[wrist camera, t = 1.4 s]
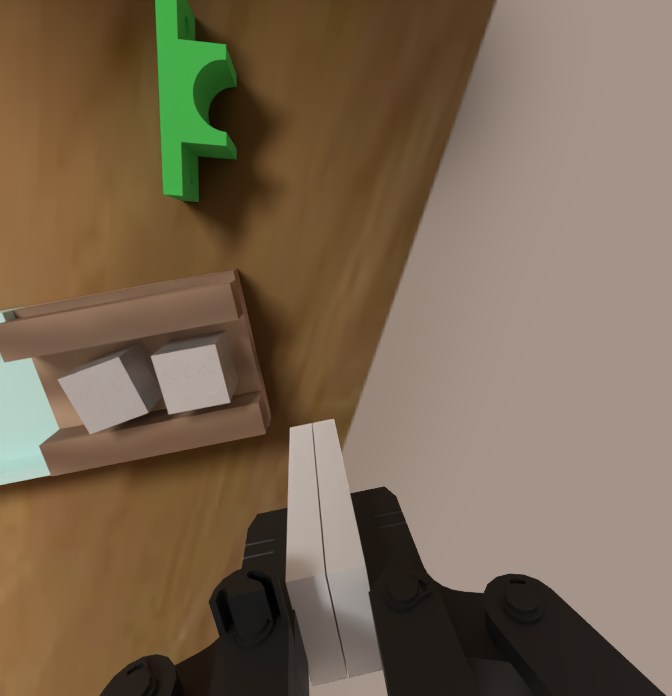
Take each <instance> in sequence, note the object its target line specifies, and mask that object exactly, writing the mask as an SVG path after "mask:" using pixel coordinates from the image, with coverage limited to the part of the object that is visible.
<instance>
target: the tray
mask: <svg viewBox="0 0 672 696" xmlns="http://www.w3.org/2000/svg"><path fill="white" fill-rule="evenodd" d="M30 306H31V305H30ZM25 307H27V306H25ZM19 308H23V307H19ZM19 308H14V309H8V310H2V311H0V323H3V322H6V321H10V320H13V319H16V318H15V315H14V313H13V310H15V309H19ZM58 430H59V427H58V424H57V422H56V419H55V417H54V414H53V412H52V409H51V407H50V404H49V402H48V399H47V396H46V394H45V391H44V389H43V386H42V384H41V381H40V379H39V376H38V374H37V371H36V369H35V366H34V363H33V361H32V358H27V359H22V360H16V361H11V362H5V363H4V361H3V359H2V356H1V354H0V485H3V484H8V483H13V482H18V481H23V480H28V479H34V478H39V477H44V476H49V475H51V474H50V472H49V469H48V467H47V465H46V462H45V460H44V457H43V455H42V453H41V450H40V448H39V445H41V444H42V443H43V442H44V441H45V440H47V439H48V438H49V437H50V436H52V435H53V434H54V433H55V432H57V431H58Z"/></svg>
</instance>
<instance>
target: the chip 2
mask: <svg viewBox="0 0 672 696" xmlns="http://www.w3.org/2000/svg"><path fill="white" fill-rule="evenodd" d="M151 359H152V362H153V365H154V368H155V372H156V375H157V378H158V381H159V385H160V388H161V391H162V394H163V398H164V401H165V404H166V407H167V411H168V414H174V413H179V412H184V411H190V410H195V409H200V408H205V407H210V406H215V405H221V404H226V403H230V402H231V400H232V397H233V395H234V392H235V390H236V387H237V385H238V382H239V381H238V377H237V373H236V369H235V365H234V361H233V357H232V353H231V349H230V345H229V341H228V337H227V333H226V330H224V331H219V332H213V333H208V334H202V335H197V336H192V337H186V338H181V339H175V340H170V341H169V342H167V343H166V344H165V345H164V346H163V347H161V348H160V349H159V350H158V351H156V352H155V353H154V354H153V355H151Z"/></svg>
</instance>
